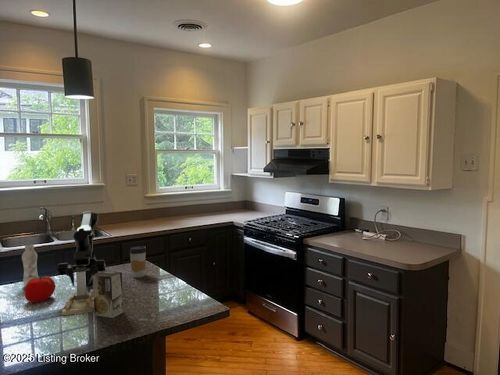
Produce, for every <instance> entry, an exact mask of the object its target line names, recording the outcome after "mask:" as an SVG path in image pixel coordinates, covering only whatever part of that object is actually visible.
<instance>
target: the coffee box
mask: <svg viewBox="0 0 500 375" xmlns="http://www.w3.org/2000/svg"><path fill="white" fill-rule="evenodd" d="M122 273H123V272H122V271H112V270H111V271H110V270H105V271H101V272H98V273H96V274H95V275H93V284H92V287H93V293H94V309H93V312H94V317H95V316H96V317H103V318H110V319H111V318H112V319H113V318H116V317H118V316H119V315H121V314H123V313H124V296H123V274H122Z"/></svg>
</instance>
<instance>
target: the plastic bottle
mask: <svg viewBox="0 0 500 375" xmlns="http://www.w3.org/2000/svg"><path fill="white" fill-rule="evenodd" d="M34 249H35V246H34V244H33V243H32V244H25V245H24V252H23V253H22V254H21V261H22V264H23V279H22V283H23V285H24V287H26V284H27V283H28V282H29V281H30V280H31V279H33V278H35V277H36V278H37V277H39V275H38V265H37V264H38V262H37V261H38V253H37V252H36V251H35V250H34Z"/></svg>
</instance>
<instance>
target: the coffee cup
mask: <svg viewBox="0 0 500 375" xmlns="http://www.w3.org/2000/svg"><path fill="white" fill-rule="evenodd" d="M146 252H147V249H146V246H143V245H138V246H132V247H130V249H129V257H130V267H131V276H132V277H133V278H137V279H138V278H143V277H145V275H146V257H147V256H146V255H147V253H146Z"/></svg>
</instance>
